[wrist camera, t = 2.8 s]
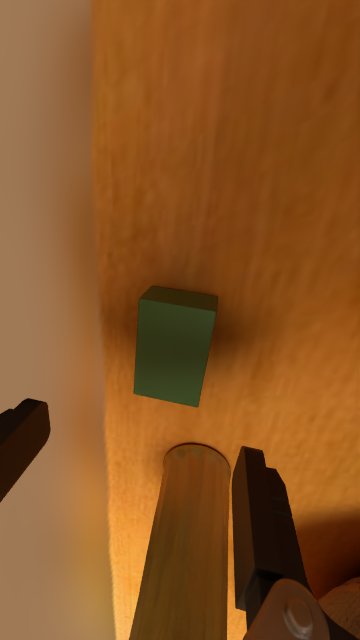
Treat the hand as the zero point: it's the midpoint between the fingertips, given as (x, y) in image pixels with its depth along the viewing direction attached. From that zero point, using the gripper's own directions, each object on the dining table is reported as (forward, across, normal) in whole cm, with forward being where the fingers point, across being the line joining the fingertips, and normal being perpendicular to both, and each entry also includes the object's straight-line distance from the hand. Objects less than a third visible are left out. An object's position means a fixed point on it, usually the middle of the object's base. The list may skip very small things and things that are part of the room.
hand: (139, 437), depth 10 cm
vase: (+9, -3, +13) cm, 16 cm away
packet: (+9, 0, 0) cm, 9 cm away
